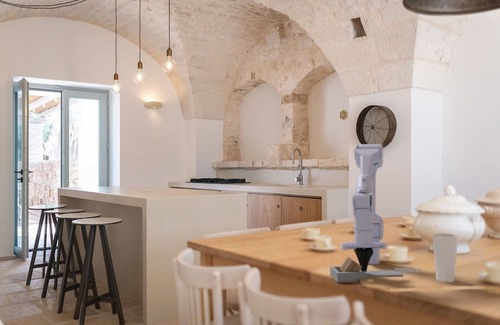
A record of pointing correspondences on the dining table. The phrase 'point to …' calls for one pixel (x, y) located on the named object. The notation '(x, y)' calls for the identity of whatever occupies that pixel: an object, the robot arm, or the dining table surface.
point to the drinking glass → (445, 256)
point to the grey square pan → (359, 274)
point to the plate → (407, 270)
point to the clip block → (350, 266)
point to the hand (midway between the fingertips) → (363, 271)
